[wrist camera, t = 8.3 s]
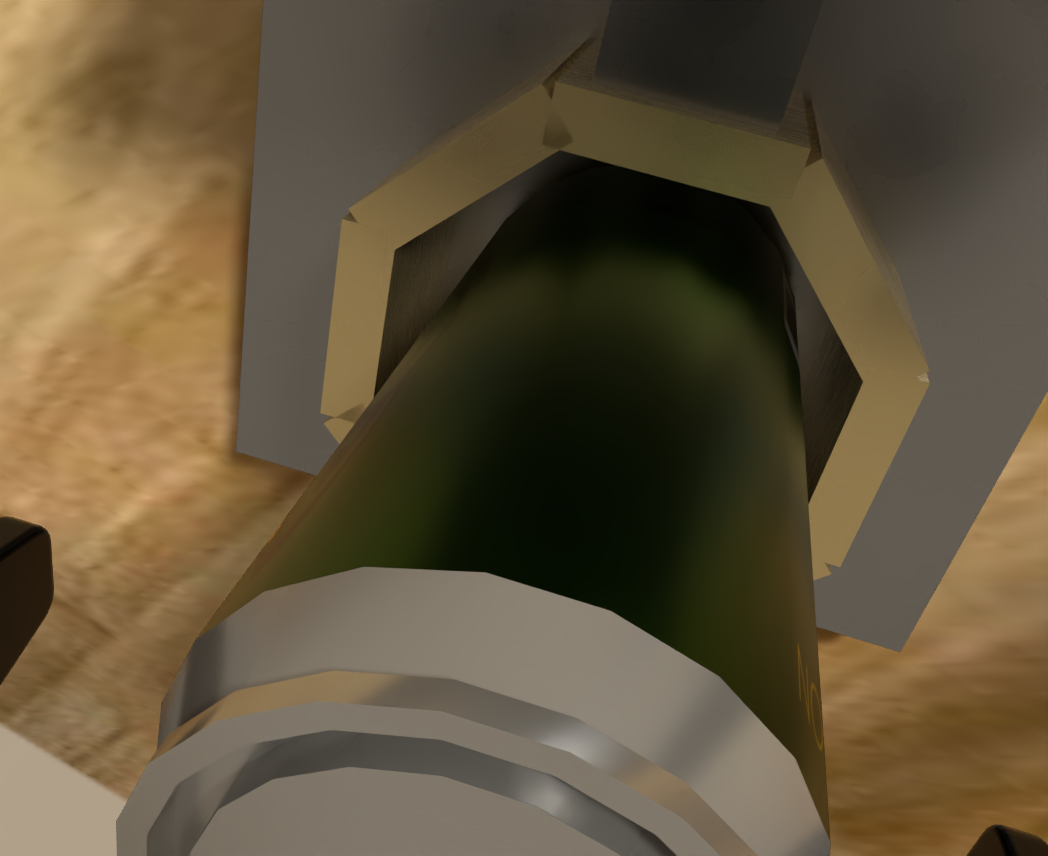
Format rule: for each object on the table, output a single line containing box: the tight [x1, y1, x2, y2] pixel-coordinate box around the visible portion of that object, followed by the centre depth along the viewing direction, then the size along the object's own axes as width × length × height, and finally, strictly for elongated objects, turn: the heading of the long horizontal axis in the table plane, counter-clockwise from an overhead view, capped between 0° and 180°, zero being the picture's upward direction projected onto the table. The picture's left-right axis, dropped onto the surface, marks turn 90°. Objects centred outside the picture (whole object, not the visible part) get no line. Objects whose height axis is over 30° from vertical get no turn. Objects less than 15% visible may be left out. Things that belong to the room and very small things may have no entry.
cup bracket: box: [236, 0, 1048, 652], centre depth 14 cm, size 14×14×8 cm
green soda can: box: [116, 166, 830, 856], centre depth 12 cm, size 5×5×12 cm
